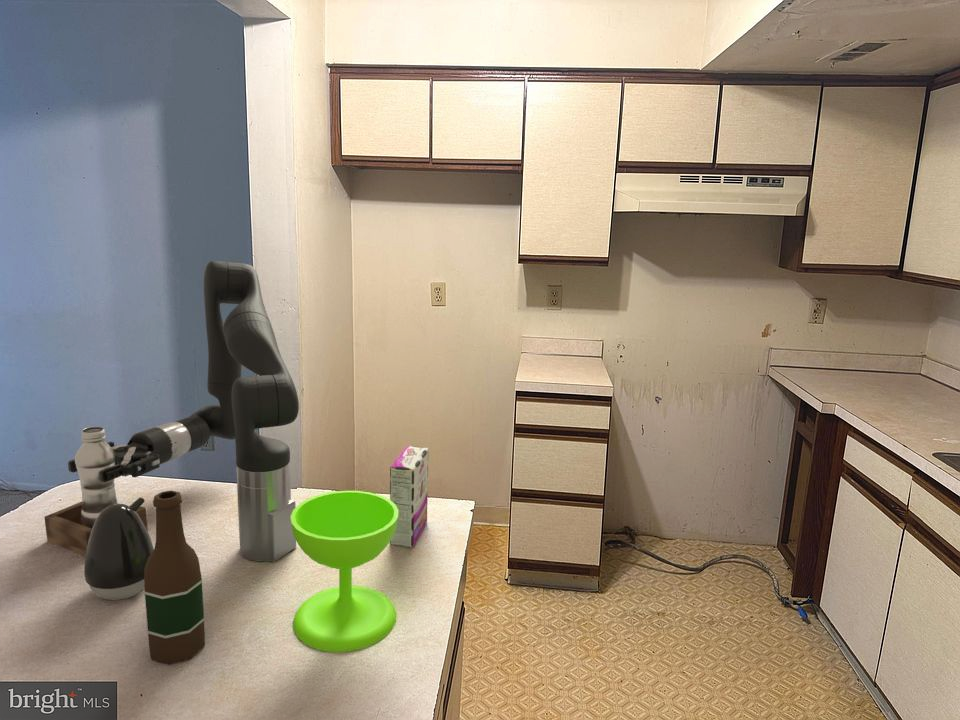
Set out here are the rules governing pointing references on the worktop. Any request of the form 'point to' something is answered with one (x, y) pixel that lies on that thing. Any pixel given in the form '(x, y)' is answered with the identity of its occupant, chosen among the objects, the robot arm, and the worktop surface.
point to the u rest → (73, 528)
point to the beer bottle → (173, 588)
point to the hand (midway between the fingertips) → (85, 472)
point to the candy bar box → (409, 494)
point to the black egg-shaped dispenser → (117, 552)
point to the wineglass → (344, 568)
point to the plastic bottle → (94, 474)
